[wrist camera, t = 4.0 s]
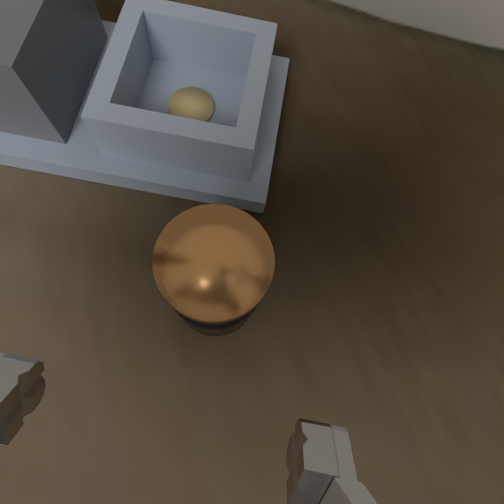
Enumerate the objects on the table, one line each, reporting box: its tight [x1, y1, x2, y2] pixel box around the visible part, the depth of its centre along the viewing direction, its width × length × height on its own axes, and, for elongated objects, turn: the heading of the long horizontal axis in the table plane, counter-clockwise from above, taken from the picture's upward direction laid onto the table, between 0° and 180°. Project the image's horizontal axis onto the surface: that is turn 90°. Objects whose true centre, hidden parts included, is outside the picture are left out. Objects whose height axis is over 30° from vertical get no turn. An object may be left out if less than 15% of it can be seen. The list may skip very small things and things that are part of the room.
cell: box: [152, 204, 275, 336], centre depth 17 cm, size 5×5×8 cm
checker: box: [0, 0, 290, 213], centre depth 21 cm, size 20×12×8 cm, turn 81°
